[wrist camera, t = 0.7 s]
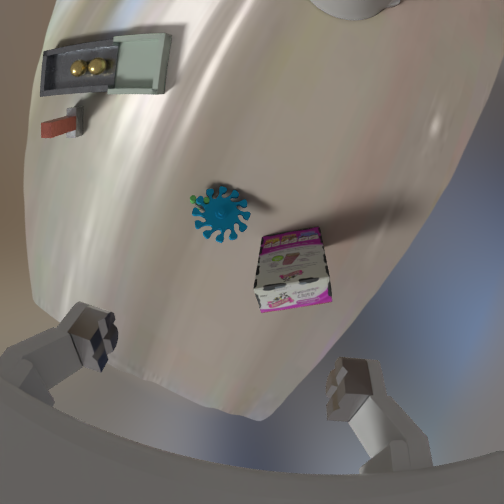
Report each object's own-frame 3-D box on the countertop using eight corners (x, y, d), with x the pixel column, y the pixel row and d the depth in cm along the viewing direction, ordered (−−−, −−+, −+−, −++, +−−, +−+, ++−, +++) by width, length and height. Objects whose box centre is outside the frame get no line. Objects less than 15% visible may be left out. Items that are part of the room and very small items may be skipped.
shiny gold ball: (96, 58, 41) (85, 57, 38) (111, 56, 41) (100, 56, 38) (94, 75, 43) (83, 76, 40) (109, 74, 43) (98, 74, 40)
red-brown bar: (73, 106, 47) (41, 114, 39) (84, 106, 47) (51, 113, 39) (73, 134, 50) (41, 146, 42) (83, 135, 50) (51, 146, 42)
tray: (122, 38, 40) (113, 36, 38) (172, 35, 40) (165, 32, 37) (115, 93, 46) (107, 94, 43) (164, 93, 46) (157, 94, 43)
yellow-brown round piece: (78, 60, 42) (67, 60, 38) (92, 58, 41) (81, 58, 38) (76, 77, 43) (65, 78, 40) (90, 75, 43) (79, 76, 40)
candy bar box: (267, 258, 60) (259, 314, 45) (261, 236, 57) (250, 288, 43) (324, 249, 57) (333, 303, 43) (320, 225, 55) (329, 276, 41)
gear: (261, 205, 52) (230, 252, 50) (255, 216, 58) (226, 259, 55) (209, 171, 52) (175, 215, 49) (207, 185, 58) (177, 226, 55)
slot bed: (52, 51, 41) (43, 51, 38) (121, 40, 40) (113, 39, 38) (49, 95, 46) (39, 96, 43) (116, 90, 46) (107, 91, 43)
